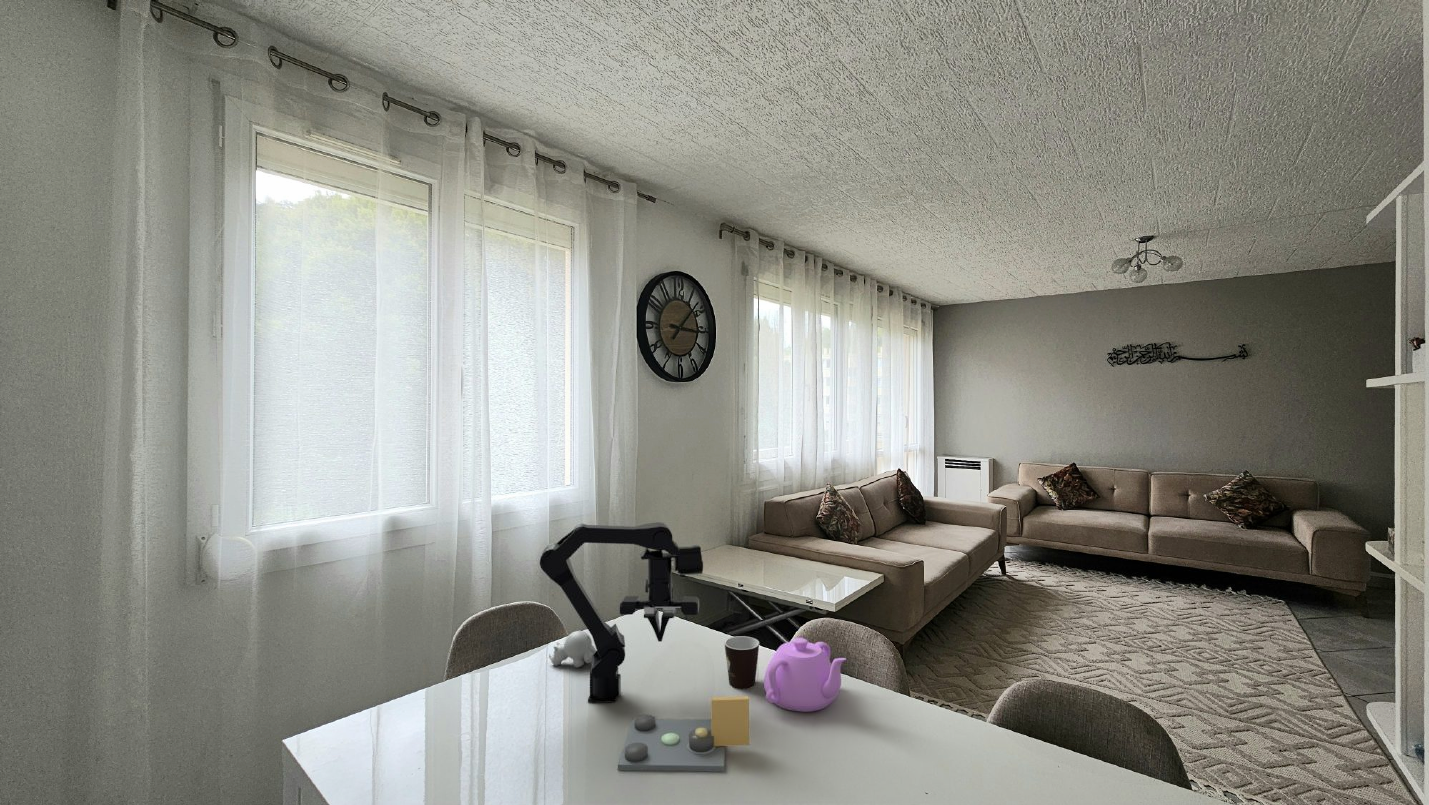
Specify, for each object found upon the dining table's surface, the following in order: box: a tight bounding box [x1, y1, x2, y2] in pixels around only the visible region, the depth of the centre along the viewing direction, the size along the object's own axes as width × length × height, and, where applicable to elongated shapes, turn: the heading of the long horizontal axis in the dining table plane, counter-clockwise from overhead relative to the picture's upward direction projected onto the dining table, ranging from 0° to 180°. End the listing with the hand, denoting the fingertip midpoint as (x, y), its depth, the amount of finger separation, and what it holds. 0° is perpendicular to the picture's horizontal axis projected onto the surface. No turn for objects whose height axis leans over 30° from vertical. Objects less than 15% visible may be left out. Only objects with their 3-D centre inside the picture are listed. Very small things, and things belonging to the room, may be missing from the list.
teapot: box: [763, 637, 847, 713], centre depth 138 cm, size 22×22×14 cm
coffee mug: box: [724, 635, 760, 690], centre depth 150 cm, size 12×9×10 cm
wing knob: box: [689, 695, 750, 752], centre depth 119 cm, size 12×5×9 cm, turn 93°
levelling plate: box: [617, 713, 726, 772], centre depth 121 cm, size 20×17×2 cm
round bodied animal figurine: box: [548, 630, 597, 669], centre depth 160 cm, size 7×12×8 cm, turn 89°
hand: (660, 641), depth 145 cm, fingers closed
